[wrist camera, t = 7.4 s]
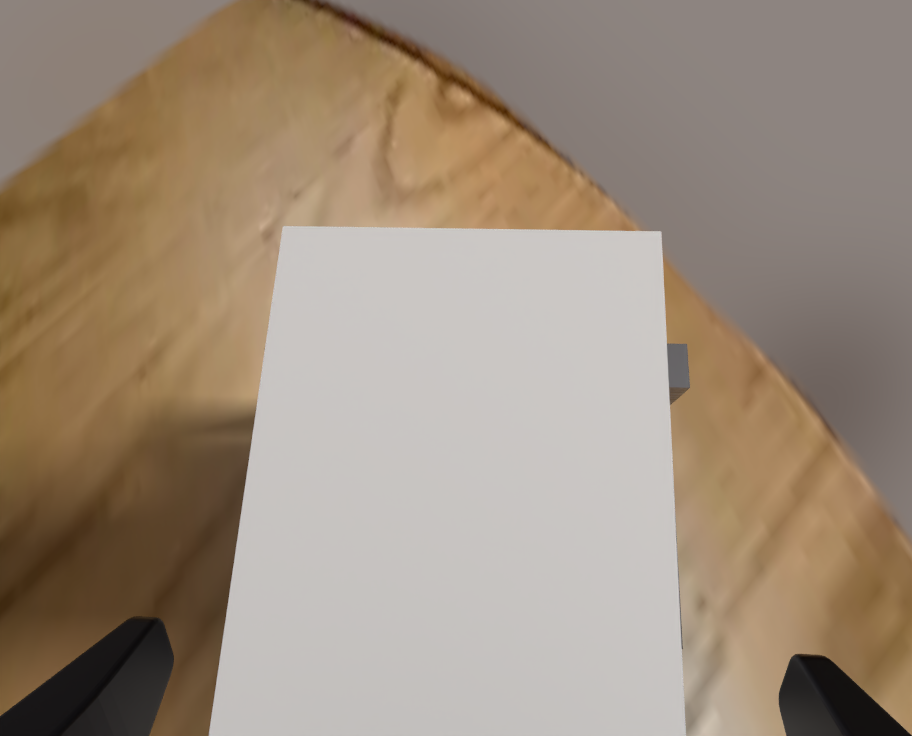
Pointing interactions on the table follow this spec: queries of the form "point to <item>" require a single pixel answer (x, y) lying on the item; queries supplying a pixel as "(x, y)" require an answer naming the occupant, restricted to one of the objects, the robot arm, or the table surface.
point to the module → (458, 492)
